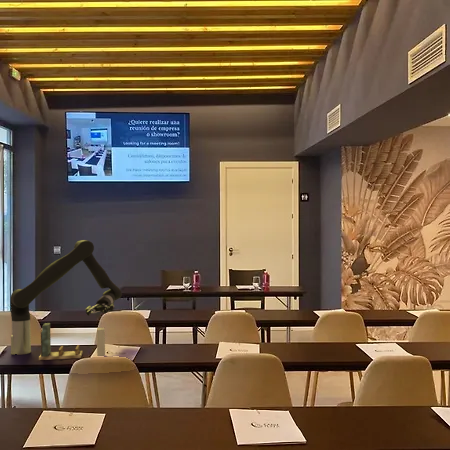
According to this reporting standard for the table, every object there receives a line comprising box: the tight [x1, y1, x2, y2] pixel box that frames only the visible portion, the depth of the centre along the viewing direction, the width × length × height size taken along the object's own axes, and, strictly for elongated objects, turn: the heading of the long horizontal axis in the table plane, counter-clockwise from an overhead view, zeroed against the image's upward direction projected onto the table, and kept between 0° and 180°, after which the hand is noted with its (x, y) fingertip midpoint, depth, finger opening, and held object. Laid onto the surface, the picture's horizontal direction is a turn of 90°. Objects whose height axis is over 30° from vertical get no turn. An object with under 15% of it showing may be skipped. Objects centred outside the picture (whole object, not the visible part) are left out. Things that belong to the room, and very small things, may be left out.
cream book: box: [96, 327, 106, 357], centre depth 281 cm, size 4×6×14 cm, turn 9°
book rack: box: [38, 322, 83, 361], centre depth 281 cm, size 20×10×16 cm, turn 99°
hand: (96, 312), depth 286 cm, fingers open, 8 cm apart
